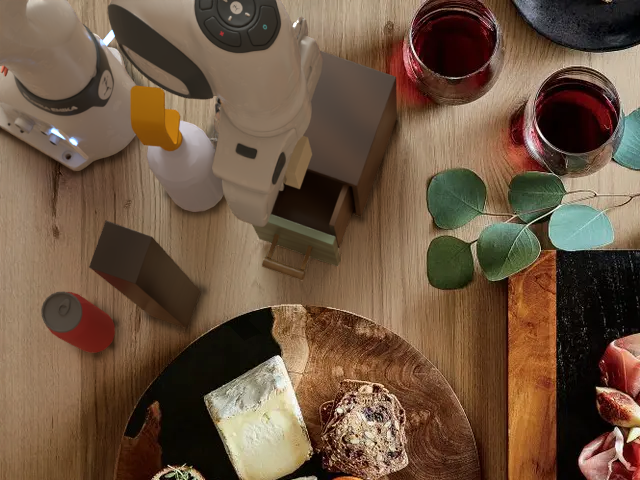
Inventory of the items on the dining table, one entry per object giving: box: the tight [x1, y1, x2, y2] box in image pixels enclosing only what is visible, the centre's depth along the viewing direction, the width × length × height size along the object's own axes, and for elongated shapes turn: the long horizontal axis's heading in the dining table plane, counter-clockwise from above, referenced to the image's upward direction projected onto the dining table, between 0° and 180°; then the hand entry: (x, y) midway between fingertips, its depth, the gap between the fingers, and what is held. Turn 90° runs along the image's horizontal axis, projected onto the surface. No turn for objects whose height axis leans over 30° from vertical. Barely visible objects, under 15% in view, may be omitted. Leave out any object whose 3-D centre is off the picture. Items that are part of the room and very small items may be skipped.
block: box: [285, 136, 312, 189], centre depth 97 cm, size 4×4×4 cm
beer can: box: [40, 291, 116, 354], centre depth 116 cm, size 7×7×12 cm
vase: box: [209, 96, 221, 144], centre depth 119 cm, size 5×5×6 cm
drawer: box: [252, 170, 355, 281], centre depth 116 cm, size 19×12×10 cm, turn 160°
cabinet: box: [303, 50, 398, 218], centre depth 116 cm, size 16×14×12 cm
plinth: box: [88, 220, 202, 330], centre depth 110 cm, size 6×6×24 cm
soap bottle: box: [130, 85, 224, 213], centre depth 110 cm, size 9×9×25 cm
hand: (286, 160), depth 98 cm, fingers closed on block, 4 cm apart
